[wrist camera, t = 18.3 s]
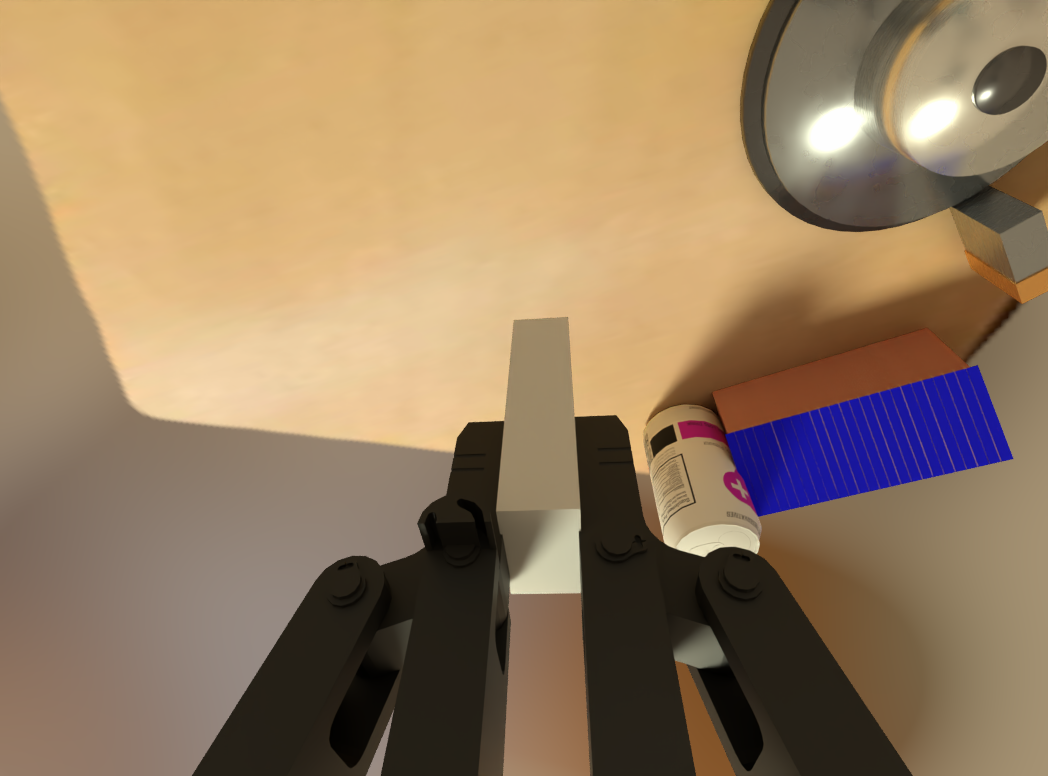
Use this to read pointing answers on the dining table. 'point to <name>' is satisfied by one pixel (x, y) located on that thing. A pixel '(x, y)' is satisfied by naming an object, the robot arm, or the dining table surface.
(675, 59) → the dining table surface
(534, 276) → the dining table surface
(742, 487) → the supplement can
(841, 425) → the house
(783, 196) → the turntable base
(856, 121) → the turntable
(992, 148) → the cover
